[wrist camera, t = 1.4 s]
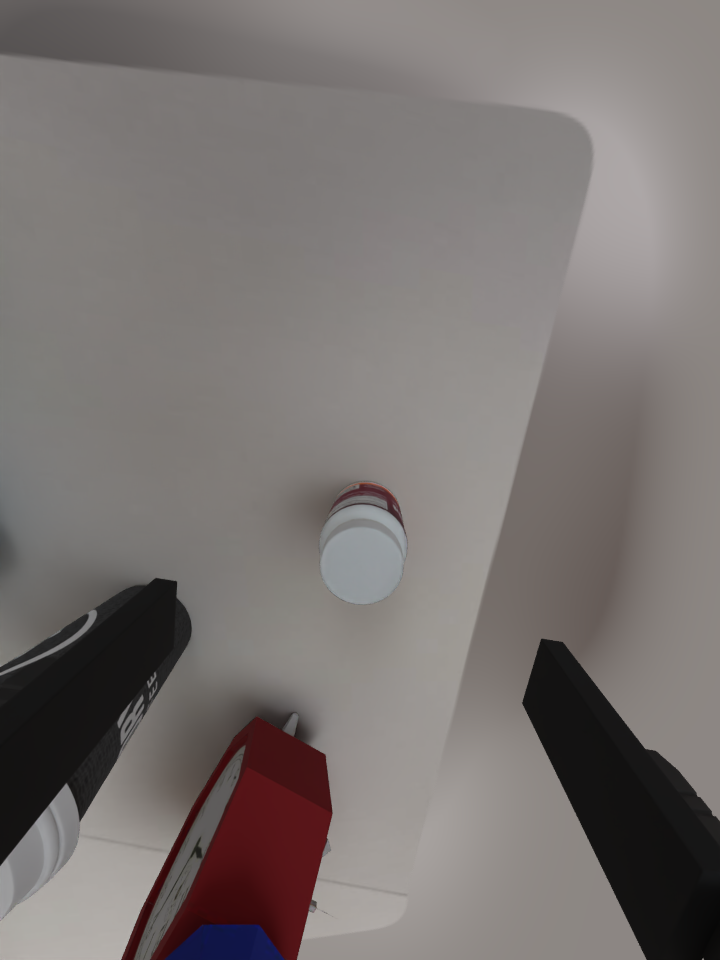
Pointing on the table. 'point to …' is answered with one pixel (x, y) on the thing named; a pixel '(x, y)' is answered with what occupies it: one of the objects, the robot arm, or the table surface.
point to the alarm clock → (243, 856)
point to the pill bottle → (363, 544)
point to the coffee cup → (61, 819)
